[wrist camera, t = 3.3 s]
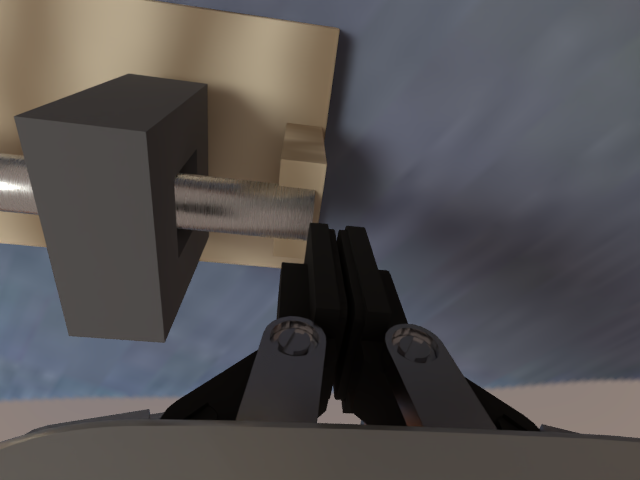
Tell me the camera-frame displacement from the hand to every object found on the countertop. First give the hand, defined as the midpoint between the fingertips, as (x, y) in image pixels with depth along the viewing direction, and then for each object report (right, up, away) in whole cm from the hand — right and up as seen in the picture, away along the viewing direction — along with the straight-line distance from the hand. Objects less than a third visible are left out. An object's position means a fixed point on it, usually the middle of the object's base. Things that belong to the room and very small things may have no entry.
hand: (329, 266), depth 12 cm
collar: (-7, +4, +5) cm, 9 cm away
